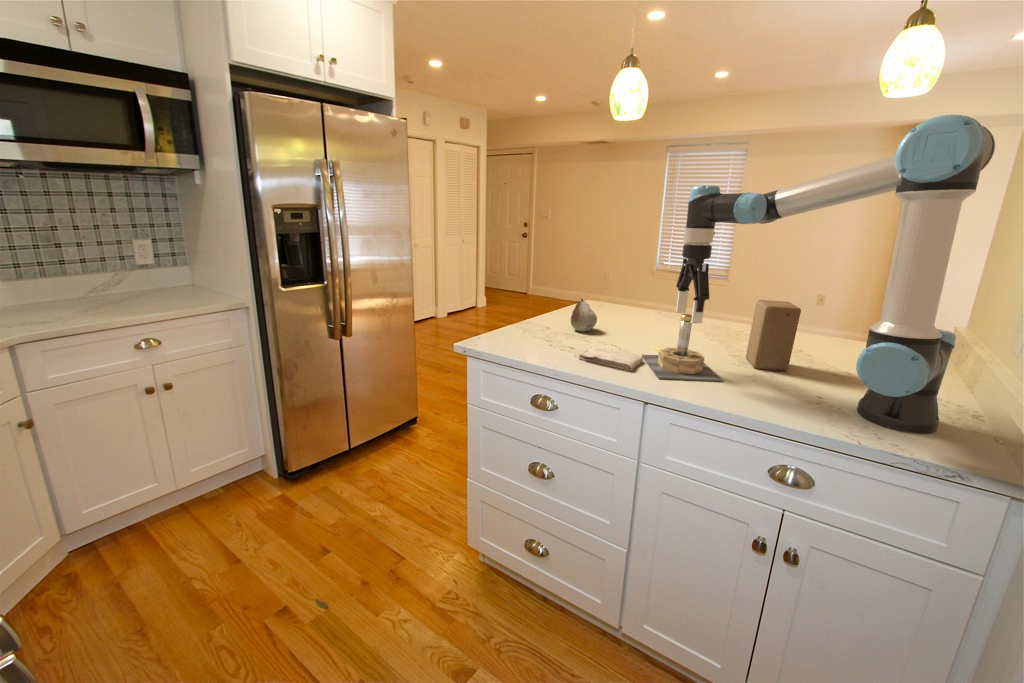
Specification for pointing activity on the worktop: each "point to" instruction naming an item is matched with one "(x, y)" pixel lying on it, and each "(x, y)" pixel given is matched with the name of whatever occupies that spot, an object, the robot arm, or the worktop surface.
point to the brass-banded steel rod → (684, 335)
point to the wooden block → (772, 334)
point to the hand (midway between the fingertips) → (688, 317)
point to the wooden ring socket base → (680, 366)
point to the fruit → (583, 317)
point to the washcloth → (611, 358)
